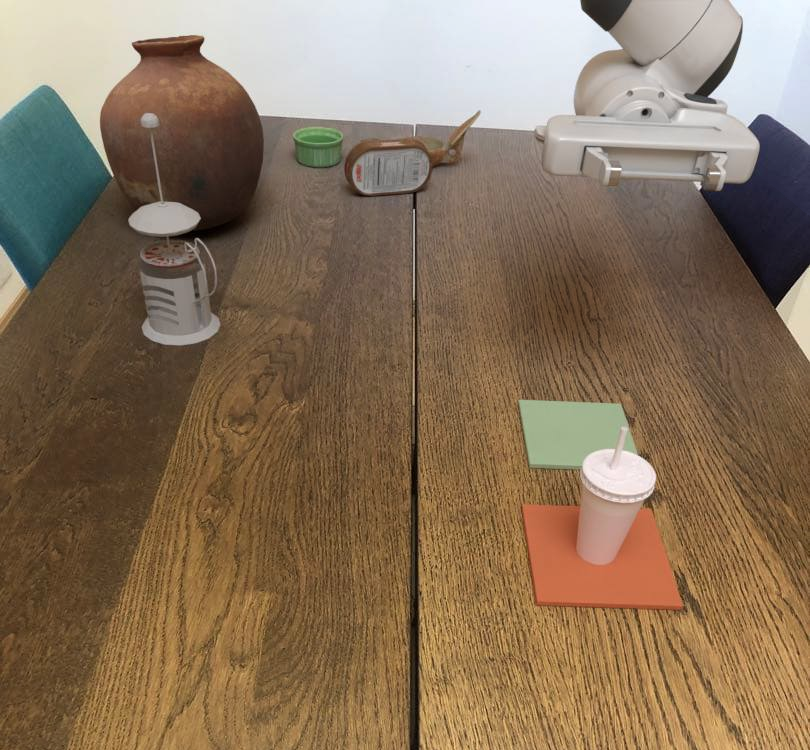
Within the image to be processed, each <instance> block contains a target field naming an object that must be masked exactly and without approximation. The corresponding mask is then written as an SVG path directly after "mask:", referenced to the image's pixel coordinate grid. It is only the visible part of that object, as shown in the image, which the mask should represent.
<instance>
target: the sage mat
mask: <svg viewBox="0 0 810 750" xmlns="http://www.w3.org/2000/svg"><path fill="white" fill-rule="evenodd" d="M517 406H518V412H519V418H520V423H521V428H522V434H523V439H524V446H525V451H526V457H527V463H528V468H529V469H548V470H549V469H551V470H574V471H575V470H576V471H580V470H581V468H582V465H583V461H584V459H585V458H586V457H587V456H588V455H589V454H591V453H593V452H595V451H598V450H603V449H616V445H617V441H618V438H619V434H620V431H621V428H622V427H627V428H628V431H627V435H626V438H625V442H624V445H623V449H622V450H624V451H628V452H631V453H634V454H636V455H638V456H639V453H638V451H637V450H638V449H637V447H636V444H635V442H634V439H633V435H632V433H631V430H630V426H629V423H628V420H627V417H626V414H625V412H624V408H623V406H622V403H613V402H612V403H611V402H591V401H589V402H588V401H566V400H565V401H563V400H539V399H518V402H517Z"/></svg>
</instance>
